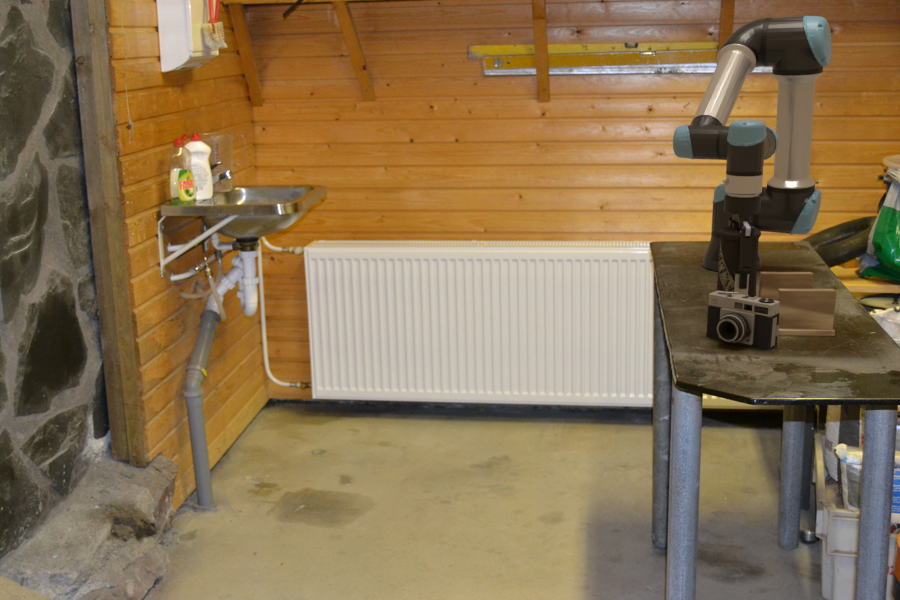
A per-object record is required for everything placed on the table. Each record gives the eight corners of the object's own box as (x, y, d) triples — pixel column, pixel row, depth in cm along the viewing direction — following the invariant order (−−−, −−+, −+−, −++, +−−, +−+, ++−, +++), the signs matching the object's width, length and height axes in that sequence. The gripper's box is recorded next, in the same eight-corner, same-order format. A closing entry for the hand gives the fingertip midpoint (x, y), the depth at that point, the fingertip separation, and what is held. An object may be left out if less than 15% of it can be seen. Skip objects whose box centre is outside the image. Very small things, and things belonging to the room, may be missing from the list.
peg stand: (755, 308, 202) (758, 270, 200) (805, 309, 201) (809, 270, 199) (779, 335, 183) (782, 293, 181) (834, 335, 182) (838, 293, 180)
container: (705, 313, 199) (710, 225, 194) (737, 308, 202) (743, 221, 197) (731, 323, 191) (737, 231, 186) (764, 317, 195) (771, 227, 190)
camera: (692, 339, 181) (696, 291, 179) (720, 332, 187) (724, 286, 184) (751, 356, 171) (756, 305, 168) (779, 348, 176) (784, 299, 173)
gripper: (715, 187, 200) (709, 285, 206) (735, 202, 180) (728, 310, 186) (749, 187, 199) (742, 285, 205) (773, 201, 180) (765, 310, 186)
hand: (736, 297), depth 196 cm, fingers closed on container, 8 cm apart
